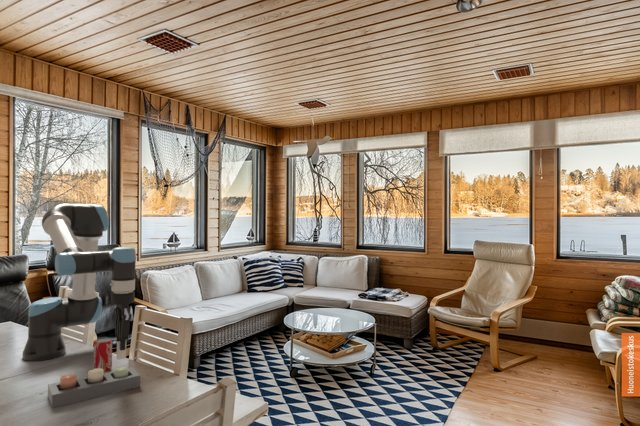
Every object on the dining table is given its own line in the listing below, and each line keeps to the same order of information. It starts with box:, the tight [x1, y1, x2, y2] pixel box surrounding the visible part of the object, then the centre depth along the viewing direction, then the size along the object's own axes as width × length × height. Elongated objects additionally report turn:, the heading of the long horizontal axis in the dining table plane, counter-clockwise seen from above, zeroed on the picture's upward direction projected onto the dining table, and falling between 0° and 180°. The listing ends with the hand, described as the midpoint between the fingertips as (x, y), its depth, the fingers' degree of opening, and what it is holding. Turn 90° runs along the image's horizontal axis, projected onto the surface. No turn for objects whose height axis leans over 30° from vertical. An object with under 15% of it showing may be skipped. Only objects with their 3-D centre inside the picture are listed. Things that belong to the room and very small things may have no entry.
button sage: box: [113, 366, 129, 379], centre depth 144 cm, size 5×5×3 cm
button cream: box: [87, 368, 104, 383], centre depth 139 cm, size 5×5×3 cm
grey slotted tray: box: [47, 366, 141, 409], centre depth 139 cm, size 10×26×4 cm, turn 130°
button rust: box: [59, 373, 78, 389], centre depth 134 cm, size 5×5×3 cm
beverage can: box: [92, 337, 113, 373], centre depth 157 cm, size 6×6×12 cm
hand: (121, 358), depth 144 cm, fingers closed
